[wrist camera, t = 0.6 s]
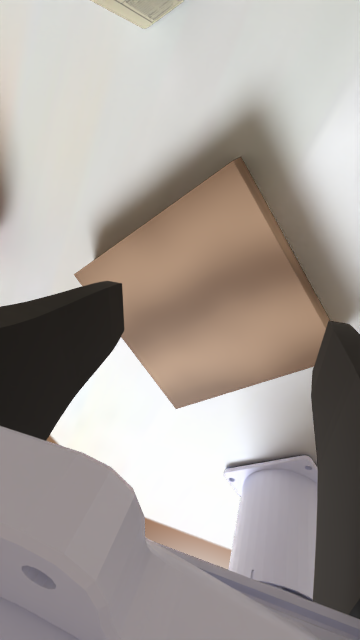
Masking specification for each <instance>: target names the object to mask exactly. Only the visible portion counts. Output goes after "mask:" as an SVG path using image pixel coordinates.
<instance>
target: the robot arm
mask: <svg viewBox="0 0 360 640" xmlns="http://www.w3.org/2000/svg"><path fill="white" fill-rule="evenodd" d="M123 332H124V310H123V290H122V283H117V282H112V281H102V282H97V283H93V284H89V285H86V286H82V287H79V288H75V289H72V290H69V291H65V292H62V293H58V294H55V295H51V296H47V297H43V298H39V299H36V300H32V301H28V302H23V303H18V304H13V305H8V306H2V307H0V640H360V334H359V333H358V332H357V331H356V330H355V329H354V328H353V327H352V326H351V325H350V324H345V323H339V322H334V321H328V324H327V327H326V330H325V333H324V337H323V340H322V343H321V346H320V349H319V352H318V356H317V359H316V362H315V365H314V368H313V373H312V391H311V399H312V411H313V421H314V431H315V441H316V451H317V466H318V468H317V466H316V465H315V463H314V462H313V460H312V459H311V458H310V457H309V456H306V455H303V456H297V457H291V458H286V459H280V460H274V461H268V462H263V463H257V464H251V465H245V466H240V467H234V468H228V469H225V470H224V477H225V478H226V479H227V480H228V482H229V483H230V484H231V486H232V487H233V488H234V490H235V491H236V492H237V494H238V495H239V496H240V497H241V498H240V504H239V510H238V516H237V522H236V528H235V534H234V540H233V546H232V552H231V558H230V564H229V570H228V569H225V568H222V567H220V566H217V565H214V564H211V563H209V562H206V561H204V560H201V559H198V558H196V557H193V556H190V555H188V554H185V553H182V552H180V551H177V550H175V549H172V548H169V547H167V546H164V545H161V544H158V543H156V542H153V541H151V540H149V539H147V538H145V521H144V520H145V519H144V515H143V512H142V510H141V507H140V505H139V502H138V500H137V497H136V495H135V492H134V490H133V488H132V487H131V486H130V485H129V484H128V483H127V482H126V481H125V480H124V479H123V478H122V477H121V476H120V475H119V474H118V473H117V472H115V471H114V470H113V469H112V468H111V467H110V466H108V465H106V464H104V463H102V462H100V461H98V460H96V459H94V458H92V457H90V456H88V455H86V454H84V453H82V452H79V451H75V450H72V449H69V448H66V447H63V446H60V445H57V444H54V443H51V442H48V441H46V440H47V438H48V437H49V435H50V433H51V432H52V430H53V428H54V427H55V425H56V424H57V422H58V420H59V419H60V417H61V416H62V414H63V413H64V411H65V410H66V408H67V407H68V405H69V404H70V402H71V401H72V399H73V398H74V397H75V395H76V394H77V393H78V392H79V390H80V389H81V388H82V387H83V386H84V384H85V383H86V382H87V381H88V380H89V378H90V377H91V376H92V375H93V374H94V372H95V371H96V370H97V369H98V368H99V366H100V365H101V364H102V363H103V362H104V360H105V359H106V358H107V357H108V356H109V354H110V353H111V352H112V350H113V349H114V347H115V346H116V344H117V343H118V341H119V339H120V337H121V336H122V334H123Z"/></svg>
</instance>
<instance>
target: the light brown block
mask: <svg viewBox="0 0 360 640" xmlns="http://www.w3.org/2000/svg"><path fill="white" fill-rule="evenodd" d="M74 275H75V277H76V278H77V279H78V281H79V282H80V283H81V285H82V286H86V285H89V284H93V283H97V282H102V281H112V282H117V283H122V290H123V310H124V332H123V334H122V336H121V337H122V339H123V340H124V341H125V343H126V344H127V345H128V346H129V348H130V349H131V350H132V352H133V353H134V354H135V356H136V357H137V358H138V360H139V361H140V362H141V364H142V365H143V366H144V368H145V369H146V370H147V371H148V373H149V374H150V375H151V377H152V378H153V379H154V381H155V382H156V383H157V385H158V386H159V387H160V389H161V390H162V391H163V392H164V394H165V395H166V396H167V398H168V399H169V400H170V402H171V403H172V404H173V406H174V407H175V408H176V409H178V408H181V407H184V406H187V405H191V404H194V403H197V402H200V401H204V400H207V399H210V398H213V397H217V396H220V395H223V394H226V393H229V392H233V391H236V390H239V389H242V388H246V387H249V386H252V385H255V384H259V383H262V382H265V381H268V380H271V379H275V378H278V377H281V376H284V375H288V374H291V373H294V372H297V371H301V370H304V369H307V368H310V367H314V365H315V362H316V359H317V356H318V352H319V349H320V346H321V343H322V340H323V337H324V333H325V330H326V327H327V324H328V321H330V319H329V318H328V316H327V314H326V312H325V310H324V308H323V307H322V305H321V303H320V301H319V299H318V297H317V296H316V294H315V292H314V290H313V288H312V286H311V284H310V283H309V281H308V279H307V277H306V275H305V273H304V272H303V270H302V268H301V266H300V264H299V262H298V261H297V259H296V257H295V255H294V253H293V251H292V250H291V248H290V246H289V244H288V242H287V240H286V239H285V237H284V235H283V233H282V231H281V229H280V228H279V226H278V224H277V222H276V220H275V218H274V216H273V215H272V213H271V211H270V209H269V207H268V205H267V204H266V202H265V200H264V198H263V196H262V194H261V193H260V191H259V189H258V187H257V185H256V183H255V182H254V180H253V178H252V176H251V174H250V172H249V171H248V169H247V167H246V165H245V163H244V161H243V160H242V158H241V157H240V158H237V159H235V160H233V161H232V162H230V163H229V164H228V165H226V166H225V167H223V168H222V169H221V170H219V171H218V172H216V173H215V174H214V175H212V176H211V177H209V178H208V179H207V180H205V181H204V182H202V183H201V184H200V185H198V186H197V187H195V188H194V189H193V190H191V191H190V192H188V193H187V194H186V195H184V196H183V197H182V198H180V199H179V200H177V201H176V202H175V203H173V204H172V205H170V206H169V207H168V208H166V209H165V210H163V211H162V212H161V213H159V214H158V215H156V216H155V217H154V218H152V219H151V220H149V221H148V222H147V223H145V224H144V225H142V226H141V227H140V228H138V229H137V230H135V231H134V232H133V233H131V234H130V235H129V236H127V237H126V238H124V239H123V240H122V241H120V242H119V243H117V244H116V245H115V246H113V247H112V248H110V249H109V250H108V251H106V252H105V253H103V254H102V255H101V256H99V257H98V258H96V259H95V260H94V261H92V262H91V263H89V264H88V265H87V266H85V267H84V268H82V269H81V270H80V271H78V272H77V273H76V274H74Z"/></svg>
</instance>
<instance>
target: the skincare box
mask: <svg viewBox="0 0 360 640" xmlns="http://www.w3.org/2000/svg"><path fill="white" fill-rule="evenodd" d="M91 1H93V2H94V3H96V4H98V5H100V6H102V7H104V8H105V9H107V10H109V11H111V12H113V13H115V14H117V15H119V16H120V17H122V18H124V19H126V20H128V21H130V22H132V23H134V24H135V25H137V26H139V27H141V28H143V29H146V28H148V27H149V26H151V25H152V24H153V23H155V22H156V21H158V20H159V19H161V18H162V17H163V16H164V15H166V14H167V13H169V12H170V11H171V10H173V9H174V8H175V7H177V6H178V5H179V4H180V3H182V2H183V1H184V0H91Z"/></svg>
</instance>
